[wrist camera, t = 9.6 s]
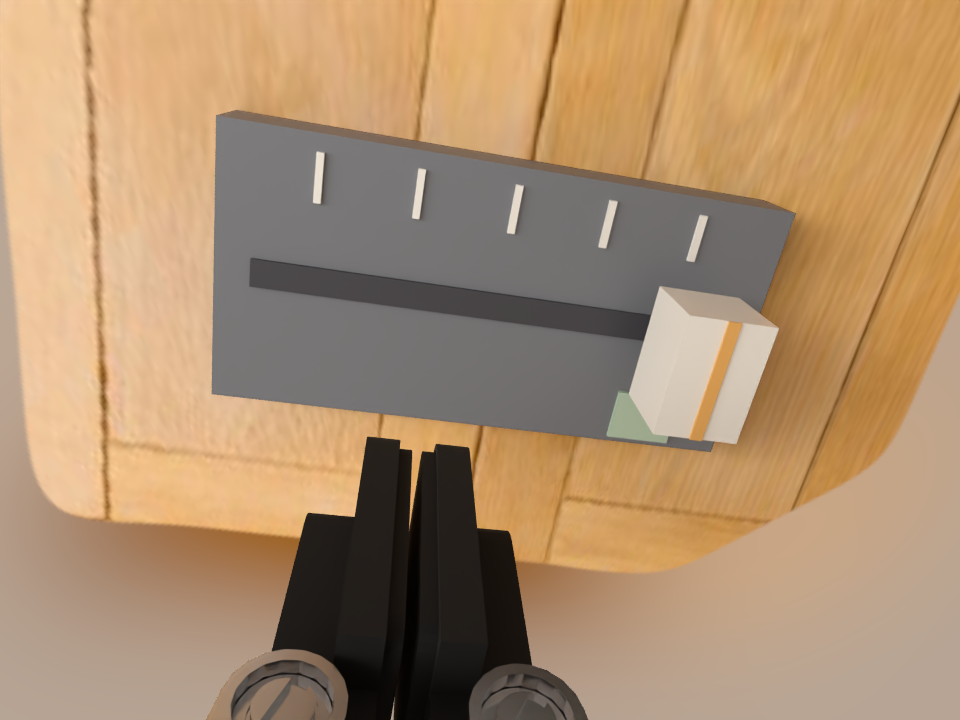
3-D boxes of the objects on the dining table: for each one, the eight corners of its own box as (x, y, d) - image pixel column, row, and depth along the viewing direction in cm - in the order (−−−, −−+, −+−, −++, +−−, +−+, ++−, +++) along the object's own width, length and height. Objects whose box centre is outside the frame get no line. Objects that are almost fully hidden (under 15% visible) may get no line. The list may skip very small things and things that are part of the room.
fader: (648, 275, 29) (690, 316, 24) (724, 286, 29) (780, 329, 25) (619, 379, 31) (653, 435, 26) (691, 388, 31) (737, 445, 27)
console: (236, 110, 28) (214, 115, 25) (763, 200, 32) (797, 214, 29) (229, 366, 33) (210, 396, 30) (689, 422, 36) (712, 454, 33)
